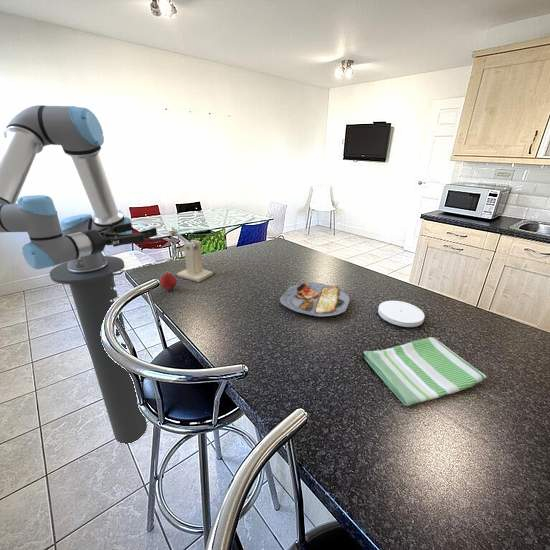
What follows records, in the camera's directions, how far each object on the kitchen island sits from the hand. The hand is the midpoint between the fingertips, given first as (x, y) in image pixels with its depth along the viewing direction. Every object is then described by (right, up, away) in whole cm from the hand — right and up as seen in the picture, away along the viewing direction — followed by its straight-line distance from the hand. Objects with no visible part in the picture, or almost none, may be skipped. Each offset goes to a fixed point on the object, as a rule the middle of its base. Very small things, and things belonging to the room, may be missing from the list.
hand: (143, 228), depth 108 cm
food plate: (+63, -27, -4) cm, 69 cm away
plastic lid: (+90, -31, -12) cm, 96 cm away
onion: (+9, -23, +2) cm, 25 cm away
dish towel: (+86, -42, -35) cm, 101 cm away
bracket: (+15, -17, +16) cm, 28 cm away
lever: (+10, -3, +13) cm, 17 cm away
